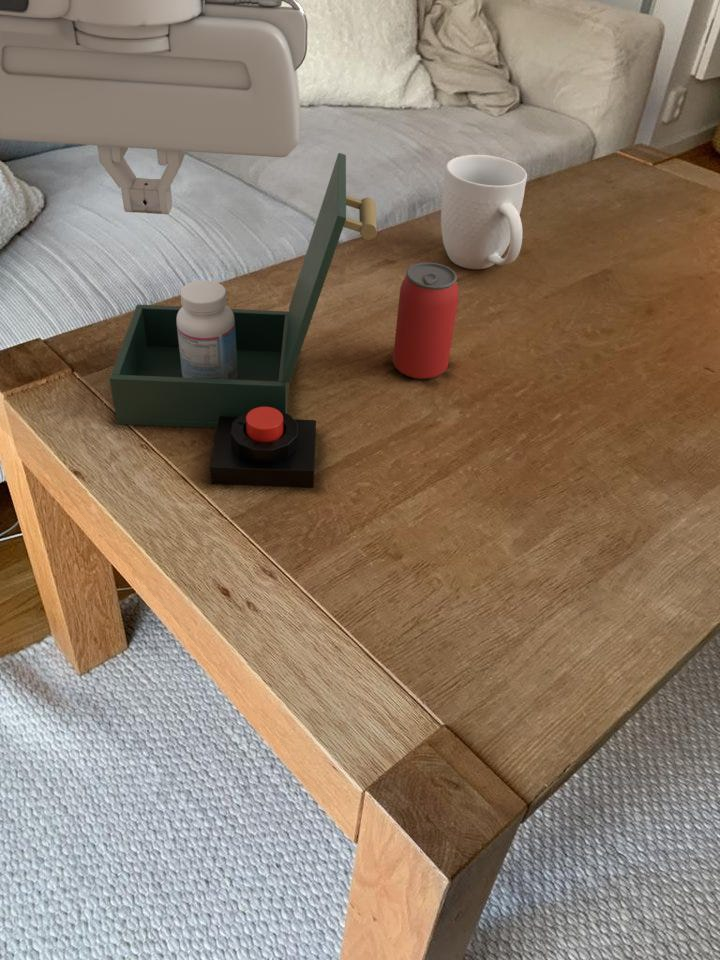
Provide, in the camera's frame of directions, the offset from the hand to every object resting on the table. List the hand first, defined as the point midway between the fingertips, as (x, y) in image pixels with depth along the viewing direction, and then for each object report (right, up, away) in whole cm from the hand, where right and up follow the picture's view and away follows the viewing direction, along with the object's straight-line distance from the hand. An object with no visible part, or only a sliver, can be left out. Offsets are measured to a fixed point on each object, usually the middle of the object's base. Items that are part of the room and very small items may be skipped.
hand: (148, 209), depth 55 cm
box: (-3, -8, +36) cm, 37 cm away
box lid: (+9, +3, +27) cm, 29 cm away
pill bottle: (-2, -7, +36) cm, 37 cm away
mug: (+31, +13, +63) cm, 71 cm away
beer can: (+21, -5, +42) cm, 48 cm away
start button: (+5, -13, +25) cm, 29 cm away
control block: (+5, -16, +28) cm, 33 cm away
